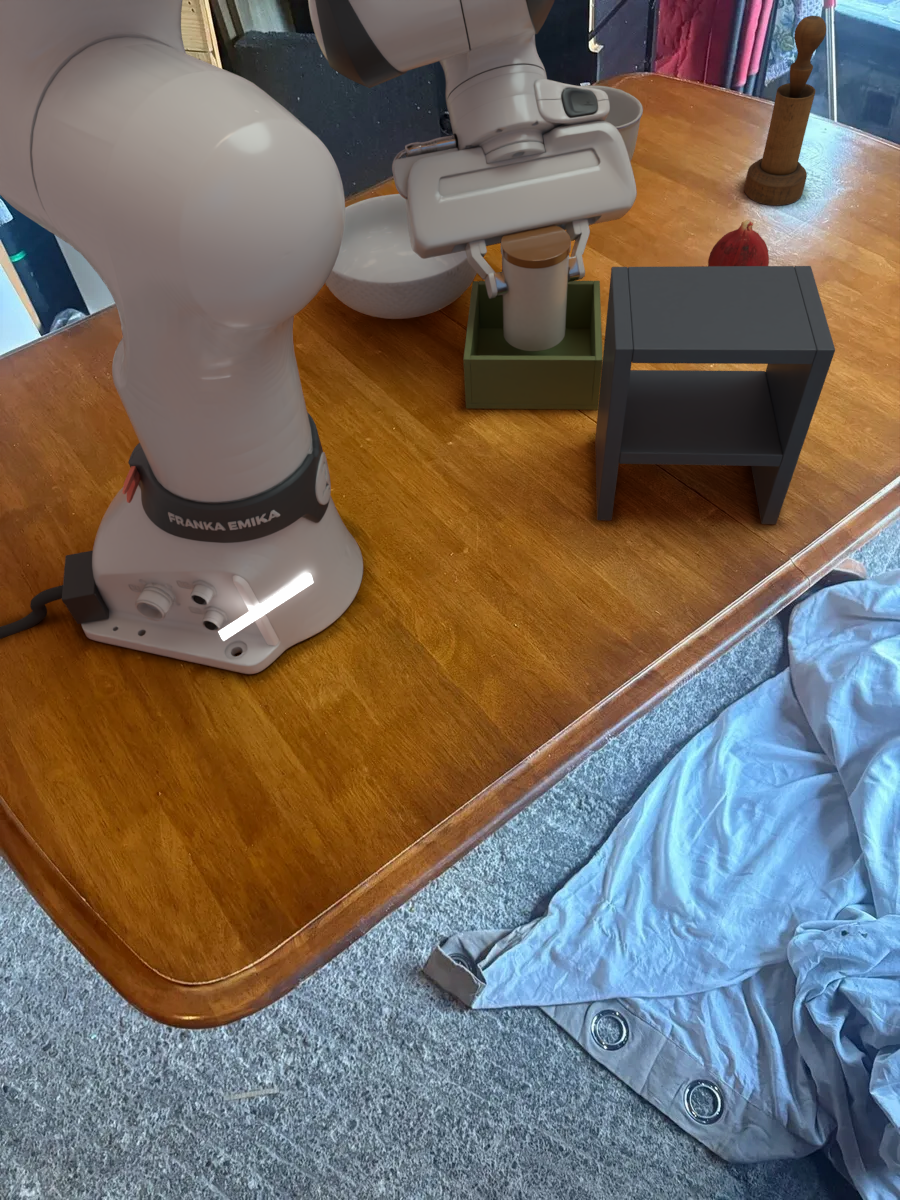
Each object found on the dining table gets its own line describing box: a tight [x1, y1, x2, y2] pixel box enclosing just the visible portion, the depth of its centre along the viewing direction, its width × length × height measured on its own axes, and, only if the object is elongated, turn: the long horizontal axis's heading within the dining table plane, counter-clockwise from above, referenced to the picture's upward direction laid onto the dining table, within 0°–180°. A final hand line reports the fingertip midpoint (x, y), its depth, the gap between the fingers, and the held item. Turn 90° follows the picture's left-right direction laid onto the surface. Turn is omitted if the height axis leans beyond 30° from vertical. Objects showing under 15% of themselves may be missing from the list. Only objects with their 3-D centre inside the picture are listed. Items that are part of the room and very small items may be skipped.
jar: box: [500, 225, 572, 351], centre depth 80 cm, size 6×6×9 cm
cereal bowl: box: [325, 193, 478, 320], centre depth 92 cm, size 17×17×7 cm
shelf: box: [594, 265, 836, 525], centre depth 69 cm, size 14×10×17 cm
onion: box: [707, 219, 770, 266], centre depth 89 cm, size 6×6×8 cm
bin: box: [462, 280, 603, 411], centre depth 84 cm, size 12×12×6 cm
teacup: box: [581, 85, 644, 162], centre depth 105 cm, size 14×11×8 cm
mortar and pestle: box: [743, 15, 827, 206], centre depth 97 cm, size 7×6×18 cm
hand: (537, 287), depth 79 cm, fingers closed on jar, 6 cm apart
